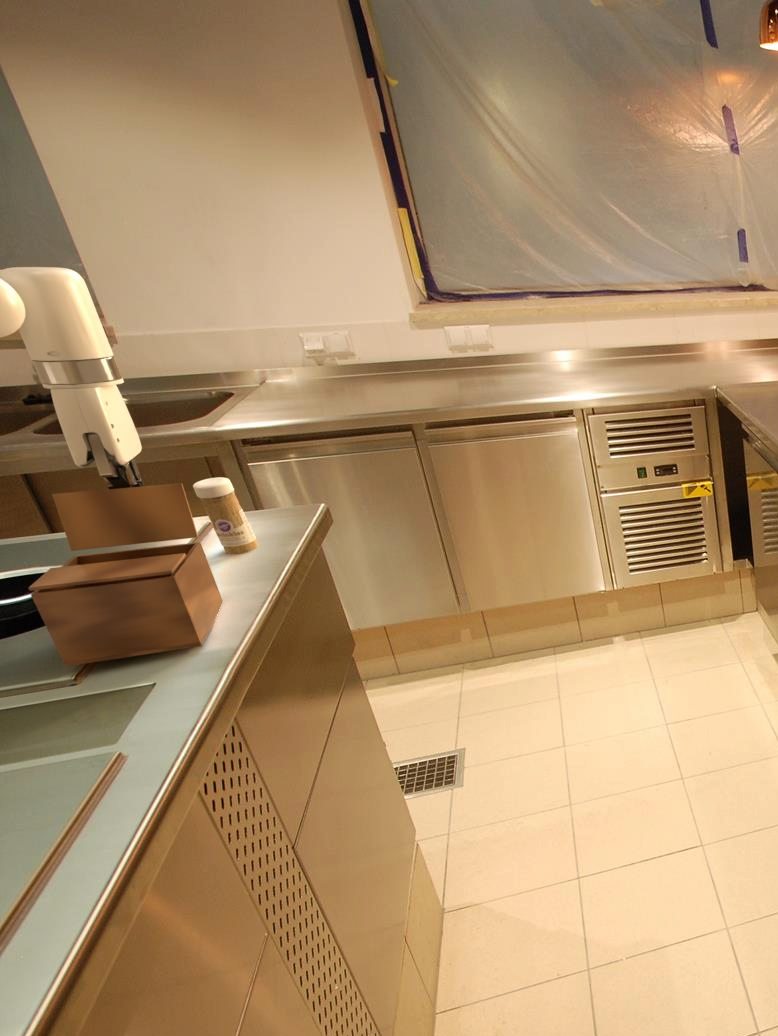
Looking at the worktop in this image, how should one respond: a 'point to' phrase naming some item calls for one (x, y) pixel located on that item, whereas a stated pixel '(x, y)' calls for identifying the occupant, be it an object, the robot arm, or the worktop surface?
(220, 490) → the sprinkles bottle
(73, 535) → the flap
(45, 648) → the worktop surface
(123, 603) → the brown wooden box
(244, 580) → the worktop surface
